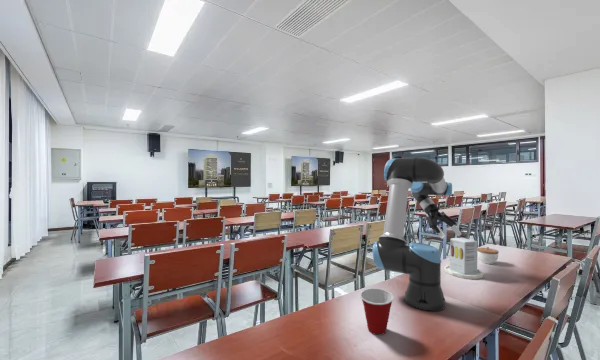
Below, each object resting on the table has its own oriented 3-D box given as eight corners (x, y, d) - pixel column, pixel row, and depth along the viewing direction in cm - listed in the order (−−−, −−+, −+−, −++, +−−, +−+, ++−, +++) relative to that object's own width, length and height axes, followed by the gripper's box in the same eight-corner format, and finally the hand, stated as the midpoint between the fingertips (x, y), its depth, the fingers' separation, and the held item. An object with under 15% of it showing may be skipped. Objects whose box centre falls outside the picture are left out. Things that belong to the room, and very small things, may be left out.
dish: (463, 280, 136) (464, 277, 136) (436, 269, 153) (436, 266, 153) (492, 277, 141) (492, 274, 141) (462, 266, 158) (462, 263, 158)
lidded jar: (498, 266, 158) (498, 250, 158) (476, 263, 165) (476, 247, 165) (498, 262, 167) (498, 246, 167) (477, 259, 173) (477, 244, 173)
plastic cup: (353, 330, 91) (353, 294, 91) (370, 318, 99) (370, 285, 99) (383, 344, 84) (383, 304, 84) (399, 330, 91) (399, 294, 91)
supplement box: (449, 268, 150) (449, 238, 150) (461, 267, 153) (462, 237, 153) (464, 274, 141) (464, 242, 141) (477, 272, 144) (478, 240, 144)
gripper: (439, 210, 175) (461, 238, 161) (410, 211, 164) (432, 242, 151) (447, 202, 170) (470, 230, 157) (418, 203, 159) (441, 234, 146)
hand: (452, 236), depth 154 cm, fingers open, 13 cm apart
